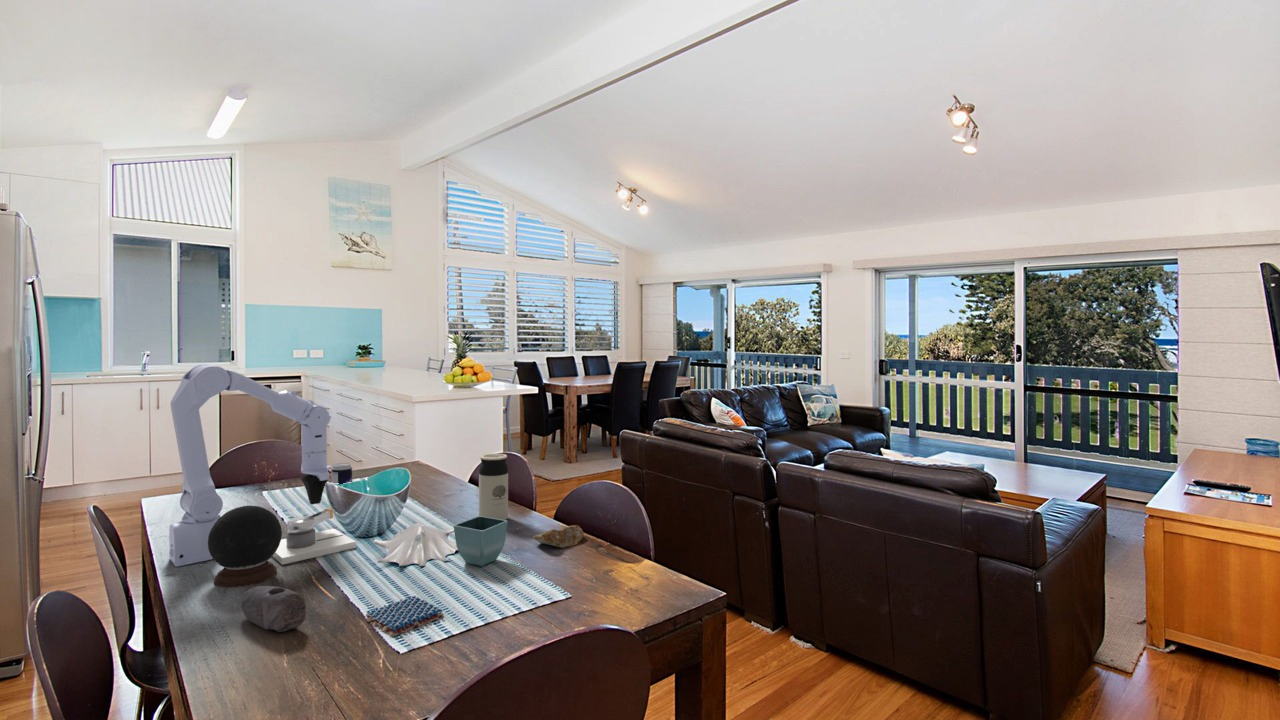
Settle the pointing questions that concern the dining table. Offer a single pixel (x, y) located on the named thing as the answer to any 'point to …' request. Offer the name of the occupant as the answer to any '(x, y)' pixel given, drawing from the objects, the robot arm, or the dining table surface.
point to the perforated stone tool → (274, 608)
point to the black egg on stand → (244, 546)
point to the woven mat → (404, 615)
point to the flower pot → (480, 539)
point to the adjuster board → (311, 545)
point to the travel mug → (493, 486)
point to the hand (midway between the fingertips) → (315, 503)
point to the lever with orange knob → (308, 522)
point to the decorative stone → (561, 537)
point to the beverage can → (341, 473)
